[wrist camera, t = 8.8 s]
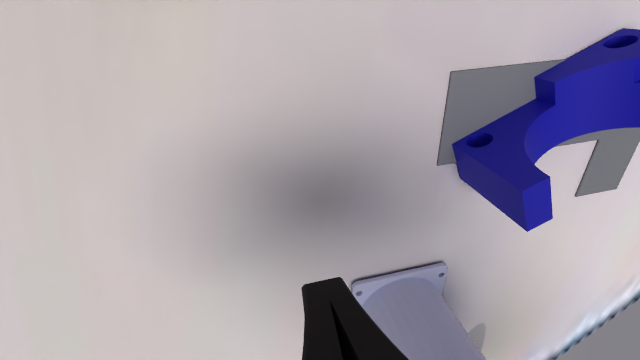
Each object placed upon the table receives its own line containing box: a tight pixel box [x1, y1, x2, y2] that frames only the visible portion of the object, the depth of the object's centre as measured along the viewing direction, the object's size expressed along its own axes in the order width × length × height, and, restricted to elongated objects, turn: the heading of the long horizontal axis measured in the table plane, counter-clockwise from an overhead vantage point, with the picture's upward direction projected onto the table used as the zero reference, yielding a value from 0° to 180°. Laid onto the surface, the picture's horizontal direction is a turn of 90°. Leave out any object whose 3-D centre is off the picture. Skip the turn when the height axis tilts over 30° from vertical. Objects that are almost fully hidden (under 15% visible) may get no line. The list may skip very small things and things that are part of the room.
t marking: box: [437, 59, 640, 197], centre depth 21 cm, size 16×17×1 cm
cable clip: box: [452, 28, 640, 232], centre depth 18 cm, size 12×4×6 cm, turn 116°
